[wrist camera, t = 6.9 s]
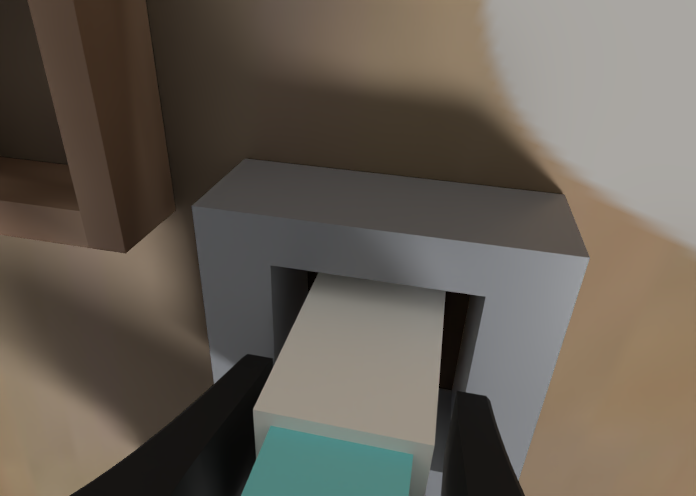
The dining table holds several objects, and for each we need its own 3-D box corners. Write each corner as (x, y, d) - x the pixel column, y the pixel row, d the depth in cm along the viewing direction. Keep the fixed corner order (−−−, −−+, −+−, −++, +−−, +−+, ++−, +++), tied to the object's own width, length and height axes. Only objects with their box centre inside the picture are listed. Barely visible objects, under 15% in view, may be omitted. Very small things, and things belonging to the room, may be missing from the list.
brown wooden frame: (-24, 183, 16) (-102, 219, 14) (-131, -121, 12) (-262, -138, 10) (175, 210, 15) (125, 253, 12) (129, -114, 11) (45, -132, 9)
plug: (332, 345, 16) (230, 635, 9) (337, 232, 14) (211, 496, 7) (429, 362, 15) (398, 680, 9) (448, 248, 13) (427, 545, 7)
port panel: (259, 382, 17) (223, 456, 15) (245, 158, 13) (191, 205, 11) (500, 427, 16) (506, 515, 14) (564, 194, 12) (589, 257, 10)
